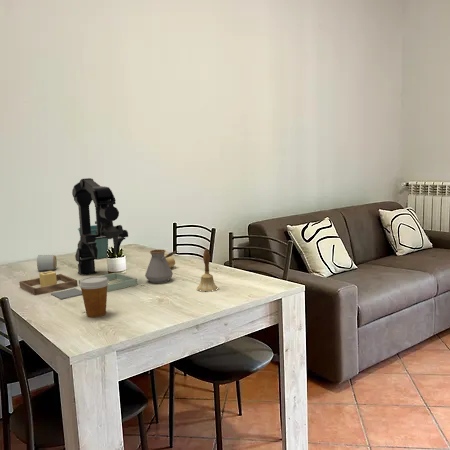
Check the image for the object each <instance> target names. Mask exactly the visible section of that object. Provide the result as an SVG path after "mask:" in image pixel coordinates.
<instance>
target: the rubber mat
mask: <svg viewBox="0 0 450 450" xmlns="http://www.w3.org/2000/svg"><path fill="white" fill-rule="evenodd" d="M50 295H51V296H53V297H56V298H57V299H59V300H65V299H66V300H67V299H71V298H74V297H78V296H83V295H82V291H81V290H80V289H78V288H77V287H73V288H68V289H66V290H65V289H64V290H59V291H54V292H50Z"/></svg>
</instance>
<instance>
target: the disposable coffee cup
mask: <svg viewBox="0 0 450 450" xmlns="http://www.w3.org/2000/svg"><path fill="white" fill-rule="evenodd" d="M80 280H81V281H80V284H79V283H78V286H79V287H80V289H81V291H82V295H81V296H82V299H83V304H84V310H85V314H86V317H88V318H99V317H102V316H104V315H106V314H107V300H108V299H107V297H108V292H107V285H108V284H110V280H107V278H106V277H103V276H102V275H97V276H95V275H94V276H88V277H84V278H82V279H80Z"/></svg>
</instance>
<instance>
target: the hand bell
mask: <svg viewBox="0 0 450 450" xmlns="http://www.w3.org/2000/svg"><path fill="white" fill-rule="evenodd" d="M202 258H203V263H204V274H202V275H201V277H200V282H199V285H198V286H197V287H196V290H197V289H198V290H201V291H211V292H213V291H212V290H216V289H217V288H218V289H219V287H218V286H217V285H216V283H215V281H214V276H213V275H212V273H210V261H211V255H210V251H209V249H208V248H205V249H204V251H203V257H202ZM218 289H217V290H218ZM198 290H197V291H198ZM217 290H216V291H217ZM201 291H200V292H201Z"/></svg>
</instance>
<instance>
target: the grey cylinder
mask: <svg viewBox="0 0 450 450" xmlns="http://www.w3.org/2000/svg"><path fill="white" fill-rule="evenodd" d="M57 262H58V259H57V256H56V255H54V254H37V257H36V269H37V271H38V272H48V271H55V270H56V269H57Z"/></svg>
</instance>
